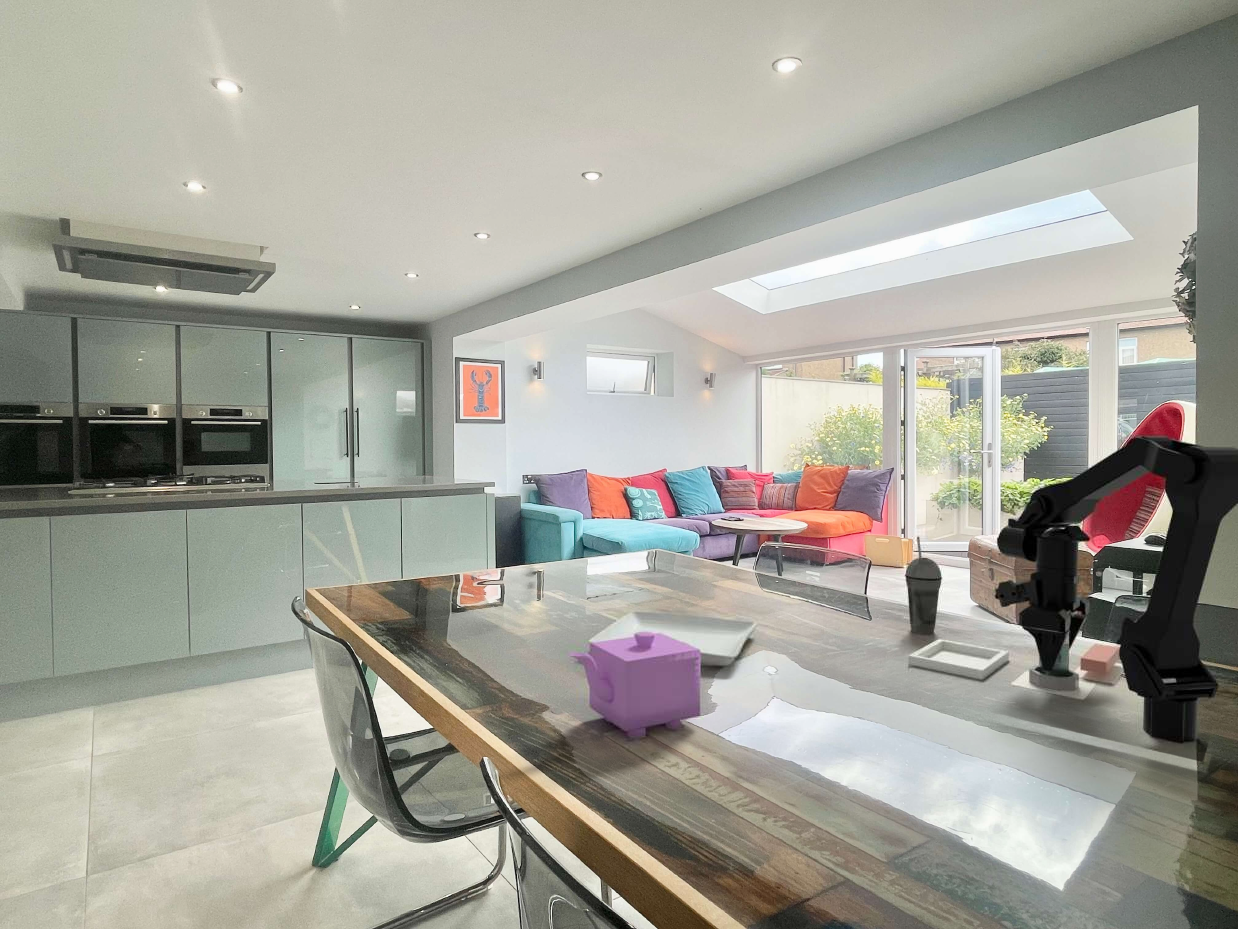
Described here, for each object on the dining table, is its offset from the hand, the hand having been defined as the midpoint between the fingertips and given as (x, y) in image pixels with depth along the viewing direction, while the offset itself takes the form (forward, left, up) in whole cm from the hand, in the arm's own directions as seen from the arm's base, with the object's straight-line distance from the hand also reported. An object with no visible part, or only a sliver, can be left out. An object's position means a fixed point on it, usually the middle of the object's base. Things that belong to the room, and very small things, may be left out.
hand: (1054, 664), depth 116 cm
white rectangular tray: (+2, +15, -4) cm, 16 cm away
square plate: (-22, +59, -5) cm, 63 cm away
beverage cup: (+23, +29, -4) cm, 37 cm away
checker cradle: (+8, -1, -4) cm, 9 cm away
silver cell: (0, 0, -3) cm, 3 cm away
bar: (+14, -4, -2) cm, 15 cm away
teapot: (-57, +39, -4) cm, 69 cm away
